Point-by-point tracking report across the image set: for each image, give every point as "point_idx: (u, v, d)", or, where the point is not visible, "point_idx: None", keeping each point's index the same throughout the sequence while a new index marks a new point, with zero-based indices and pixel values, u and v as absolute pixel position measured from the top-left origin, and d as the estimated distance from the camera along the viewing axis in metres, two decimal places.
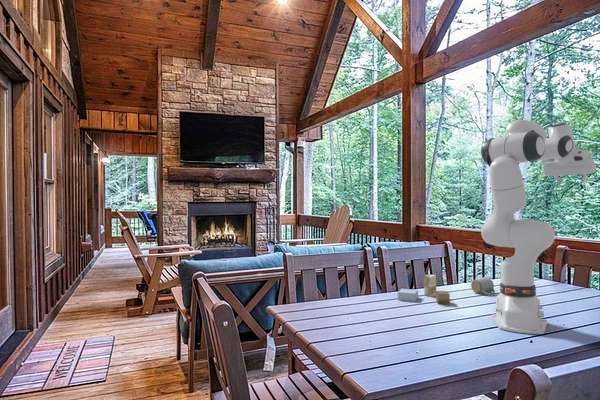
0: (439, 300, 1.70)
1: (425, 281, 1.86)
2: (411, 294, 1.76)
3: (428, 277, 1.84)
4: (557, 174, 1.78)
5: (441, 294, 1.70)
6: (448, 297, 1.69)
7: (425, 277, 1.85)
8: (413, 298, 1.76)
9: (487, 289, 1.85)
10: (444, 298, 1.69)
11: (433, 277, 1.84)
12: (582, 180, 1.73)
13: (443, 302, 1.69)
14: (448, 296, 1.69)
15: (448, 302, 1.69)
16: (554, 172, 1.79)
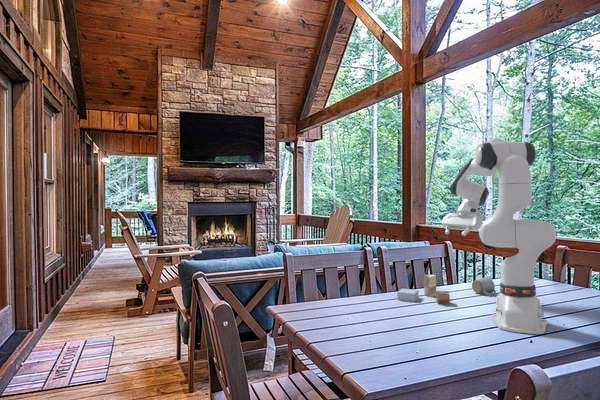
0: (439, 300, 1.70)
1: (425, 281, 1.86)
2: (410, 294, 1.76)
3: (428, 277, 1.84)
4: (450, 223, 1.94)
5: (441, 294, 1.70)
6: (448, 297, 1.69)
7: (425, 277, 1.85)
8: (412, 298, 1.76)
9: (488, 289, 1.85)
10: (444, 298, 1.69)
11: (433, 277, 1.84)
12: (463, 232, 1.85)
13: (443, 302, 1.69)
14: (448, 296, 1.69)
15: (448, 302, 1.69)
16: (448, 221, 1.95)
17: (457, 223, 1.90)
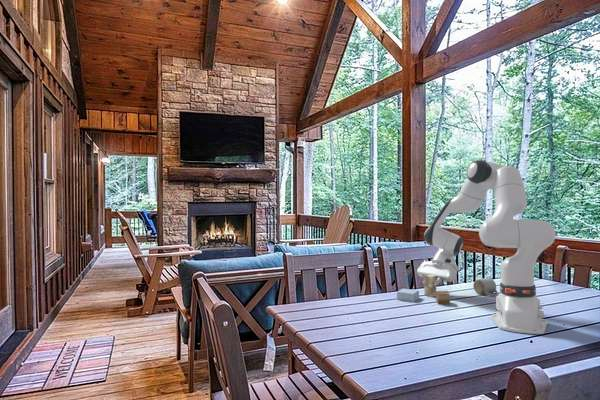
0: (439, 300, 1.70)
1: (425, 281, 1.86)
2: (410, 294, 1.76)
3: (428, 277, 1.84)
4: (425, 272, 1.90)
5: (441, 294, 1.70)
6: (448, 297, 1.69)
7: (425, 277, 1.85)
8: (412, 298, 1.76)
9: (489, 290, 1.84)
10: (444, 298, 1.69)
11: (433, 277, 1.84)
12: (434, 282, 1.83)
13: (443, 302, 1.69)
14: (448, 296, 1.69)
15: (448, 302, 1.69)
16: (424, 270, 1.92)
17: (432, 273, 1.87)
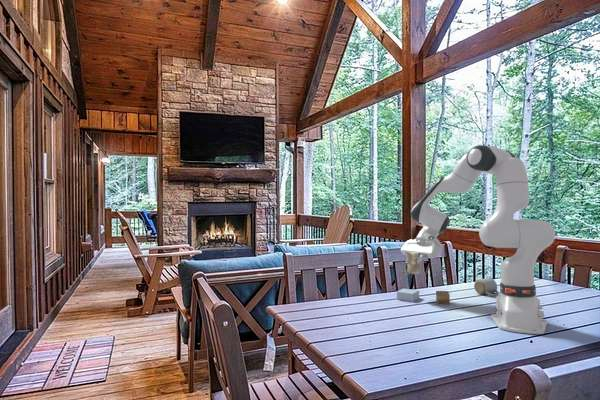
0: (439, 300, 1.70)
1: (408, 258, 1.82)
2: (409, 294, 1.76)
3: (411, 254, 1.81)
4: (408, 250, 1.87)
5: (441, 294, 1.70)
6: (448, 297, 1.69)
7: (408, 254, 1.82)
8: (411, 298, 1.76)
9: (490, 290, 1.83)
10: (444, 298, 1.69)
11: (416, 254, 1.81)
12: (416, 259, 1.80)
13: (443, 302, 1.69)
14: (448, 296, 1.69)
15: (448, 302, 1.69)
16: (407, 248, 1.89)
17: (415, 250, 1.84)
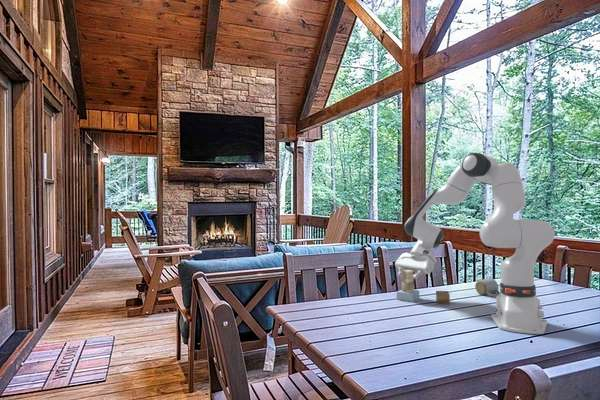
0: (439, 300, 1.70)
1: (402, 276, 1.81)
2: (409, 294, 1.76)
3: (405, 272, 1.79)
4: (403, 264, 1.86)
5: (441, 294, 1.70)
6: (448, 297, 1.69)
7: (402, 272, 1.81)
8: (411, 298, 1.76)
9: (492, 290, 1.82)
10: (444, 298, 1.69)
11: (410, 272, 1.79)
12: (414, 275, 1.77)
13: (443, 302, 1.69)
14: (448, 296, 1.69)
15: (448, 302, 1.69)
16: (402, 262, 1.87)
17: (409, 265, 1.82)
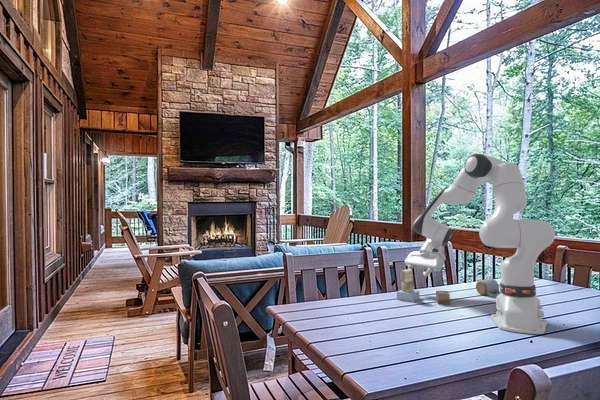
0: (439, 300, 1.70)
1: (401, 276, 1.81)
2: (409, 294, 1.76)
3: (404, 272, 1.80)
4: (412, 262, 1.90)
5: (441, 294, 1.70)
6: (448, 297, 1.69)
7: (401, 272, 1.81)
8: (411, 298, 1.76)
9: (492, 290, 1.82)
10: (444, 298, 1.69)
11: (409, 272, 1.79)
12: (424, 272, 1.81)
13: (443, 302, 1.69)
14: (448, 296, 1.69)
15: (448, 302, 1.69)
16: (411, 260, 1.91)
17: (419, 263, 1.86)
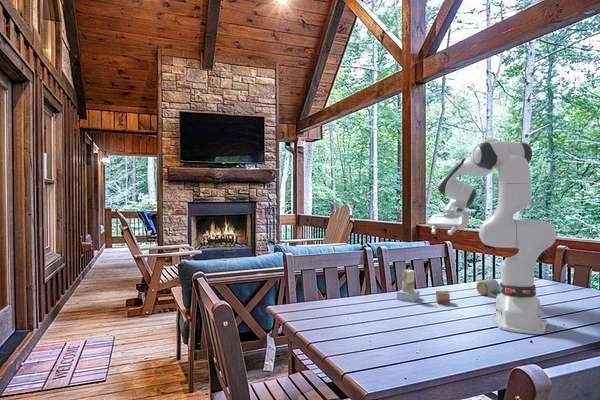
0: (439, 300, 1.70)
1: (403, 275, 1.80)
2: (409, 294, 1.76)
3: (406, 272, 1.79)
4: (436, 223, 1.93)
5: (441, 294, 1.70)
6: (448, 297, 1.69)
7: (403, 272, 1.80)
8: (411, 298, 1.75)
9: (493, 291, 1.82)
10: (444, 298, 1.69)
11: (411, 272, 1.78)
12: (449, 231, 1.84)
13: (443, 302, 1.69)
14: (448, 296, 1.69)
15: (448, 302, 1.69)
16: (435, 221, 1.95)
17: (443, 223, 1.90)
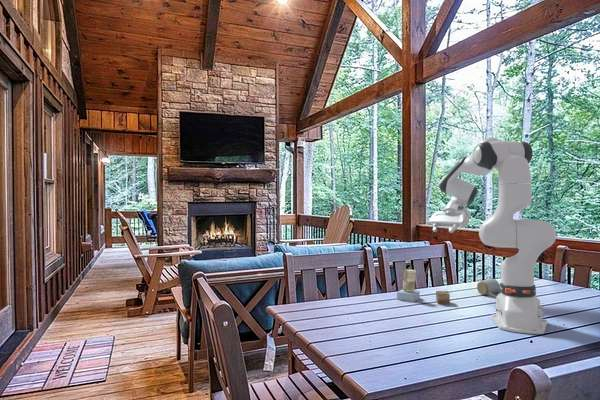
0: (439, 300, 1.70)
1: (404, 275, 1.81)
2: (409, 294, 1.76)
3: (407, 271, 1.79)
4: (437, 220, 1.93)
5: (441, 294, 1.70)
6: (448, 297, 1.69)
7: (405, 271, 1.81)
8: (411, 298, 1.75)
9: (493, 291, 1.81)
10: (444, 298, 1.69)
11: (413, 272, 1.79)
12: (450, 229, 1.85)
13: (443, 302, 1.69)
14: (448, 296, 1.69)
15: (448, 302, 1.69)
16: (436, 219, 1.95)
17: (444, 220, 1.90)
